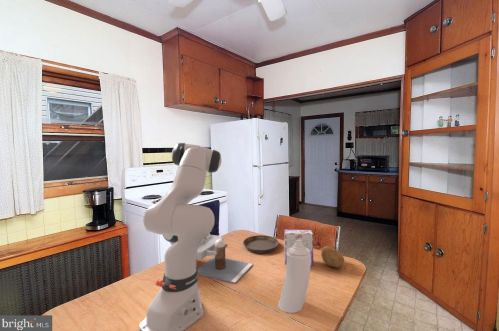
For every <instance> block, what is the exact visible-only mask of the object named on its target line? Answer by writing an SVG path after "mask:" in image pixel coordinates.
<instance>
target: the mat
mask: <svg viewBox="0 0 499 331" xmlns="http://www.w3.org/2000/svg"><path fill="white" fill-rule="evenodd" d="M225 259H226V267H225V268H224V269H222V270H218V269H216V268H215V256H213V257H212V258H211V259H209V260H208V261H207V262H205V263H204V264H203V265H201V266H200V267H198V268H197V269H198V275H200V276H204V277H208V278H211V279H216V280H219V281H222V282H226V283H231V284H233V285H236V284H237V282H239V280H240V279H241V278H243V276H244V275H245V274H247V272H248V271H249V269H251V268H252V267H253V266H254V265H253V263H250V262H249V263H248V262H246V261H245V262H244V261H241V260H235V259H231V258H226V257H225Z"/></svg>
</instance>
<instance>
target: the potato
mask: <svg viewBox="0 0 499 331" xmlns="http://www.w3.org/2000/svg"><path fill="white" fill-rule="evenodd" d="M320 255H321V258H322V261H323V262H324V264H326V265H327V266H329V267H332V268H337V269H338V268H340V267H342V266H343V265H344V264H345V258H344V256H343V255H342V254H341V252H340V250H339V251H338V250H337V249H335V248H334V247H333V246H328V245H326V246H325V245H324V247H322V249H321V254H320Z"/></svg>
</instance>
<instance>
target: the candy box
mask: <svg viewBox="0 0 499 331" xmlns="http://www.w3.org/2000/svg"><path fill="white" fill-rule="evenodd" d="M296 240H302V244H303V245H304V247H306V248H308V249H309V250H310V253H311V266H314V233H313V231H312V229H284V265H286V264H287V256H286V252H287V249H288V248H289V247H293V245H294V244H295V243H296Z"/></svg>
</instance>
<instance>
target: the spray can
mask: <svg viewBox="0 0 499 331" xmlns="http://www.w3.org/2000/svg"><path fill="white" fill-rule="evenodd" d="M286 256H287V264H286V267H285V278H284V280H283V281H284V282H283V285H282V289H281V294H280V297H279V301H278V304H277V305H278V309H280V310H281V311H282V312H285V313H287V314H288V313H289V314H296V313H299V312H300V311H301V310H303V306H304V303H305V300H306V296H307V291H308V287H309V282H310V276H311V275H310V274H311V266H312V265H311V253H310V250H309V249H308V248H306V247H304V245H303V244H302V240H296V243H295V244H294V245H293V247H289V248H288V249H287V252H286Z"/></svg>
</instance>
